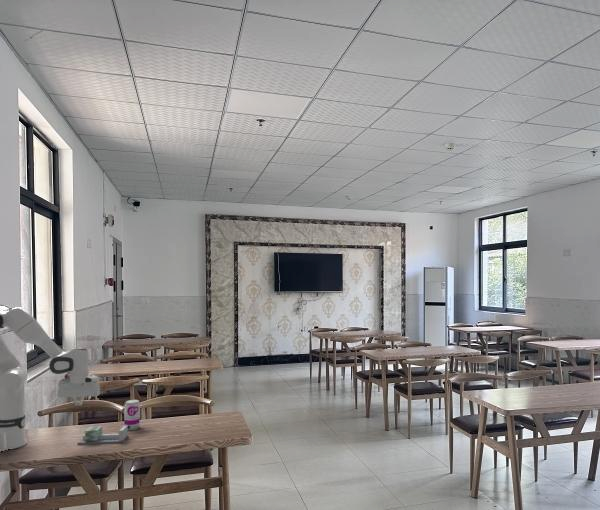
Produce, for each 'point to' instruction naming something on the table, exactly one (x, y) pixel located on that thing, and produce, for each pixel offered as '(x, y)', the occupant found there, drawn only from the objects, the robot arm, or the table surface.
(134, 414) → the supplement can
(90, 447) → the table surface
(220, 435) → the table surface
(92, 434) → the keeper
